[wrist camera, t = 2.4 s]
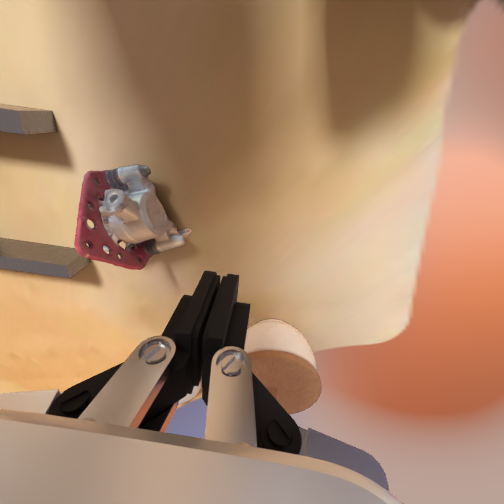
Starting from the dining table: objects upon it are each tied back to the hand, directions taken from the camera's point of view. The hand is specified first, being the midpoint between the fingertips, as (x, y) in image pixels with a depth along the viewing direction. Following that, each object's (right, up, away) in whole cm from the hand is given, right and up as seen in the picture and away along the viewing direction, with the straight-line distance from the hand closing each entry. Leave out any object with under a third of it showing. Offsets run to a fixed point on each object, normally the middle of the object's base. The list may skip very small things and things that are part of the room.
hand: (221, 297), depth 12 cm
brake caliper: (-12, +8, +19) cm, 23 cm away
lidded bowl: (+5, -11, +28) cm, 30 cm away
